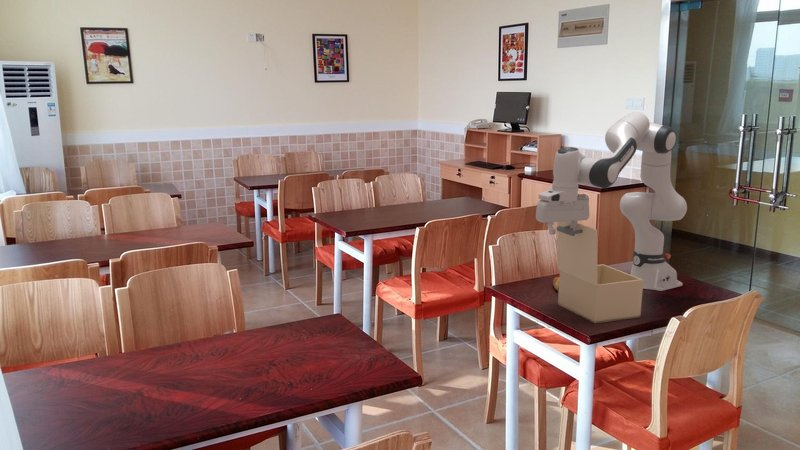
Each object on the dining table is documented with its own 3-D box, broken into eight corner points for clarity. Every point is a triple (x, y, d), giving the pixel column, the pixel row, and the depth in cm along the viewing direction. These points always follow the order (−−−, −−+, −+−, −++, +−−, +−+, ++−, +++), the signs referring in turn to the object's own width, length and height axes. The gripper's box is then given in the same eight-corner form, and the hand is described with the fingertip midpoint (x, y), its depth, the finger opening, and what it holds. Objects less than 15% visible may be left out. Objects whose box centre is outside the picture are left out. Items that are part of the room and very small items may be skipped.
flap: (559, 217, 241) (545, 219, 239) (597, 229, 221) (582, 232, 219) (559, 269, 246) (546, 271, 244) (597, 285, 226) (583, 288, 224)
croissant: (585, 307, 257) (595, 289, 256) (566, 297, 253) (576, 279, 253) (559, 290, 277) (568, 273, 276) (540, 281, 273) (550, 264, 273)
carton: (600, 298, 256) (603, 264, 253) (640, 317, 236) (643, 279, 233) (557, 304, 249) (560, 268, 246) (594, 323, 229) (597, 285, 226)
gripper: (583, 192, 233) (580, 230, 236) (534, 194, 226) (532, 233, 229) (594, 195, 228) (591, 233, 230) (545, 196, 220) (542, 237, 223)
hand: (561, 233), depth 229 cm, fingers open, 6 cm apart
